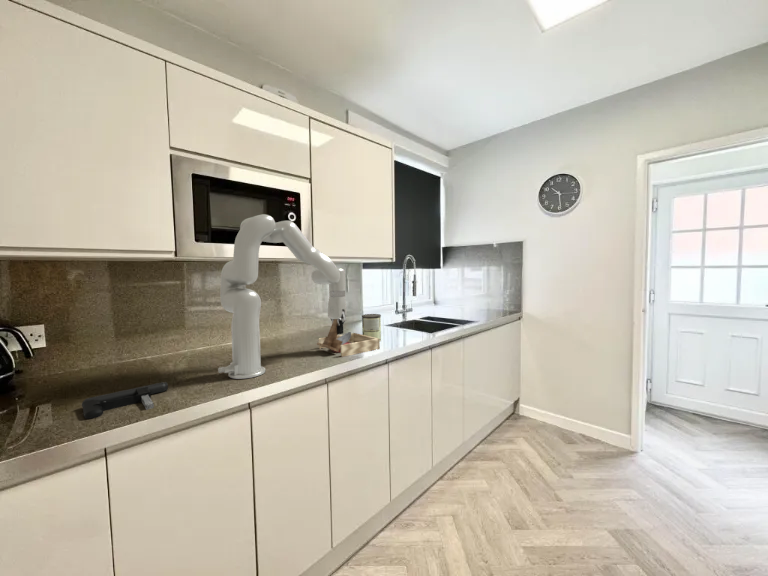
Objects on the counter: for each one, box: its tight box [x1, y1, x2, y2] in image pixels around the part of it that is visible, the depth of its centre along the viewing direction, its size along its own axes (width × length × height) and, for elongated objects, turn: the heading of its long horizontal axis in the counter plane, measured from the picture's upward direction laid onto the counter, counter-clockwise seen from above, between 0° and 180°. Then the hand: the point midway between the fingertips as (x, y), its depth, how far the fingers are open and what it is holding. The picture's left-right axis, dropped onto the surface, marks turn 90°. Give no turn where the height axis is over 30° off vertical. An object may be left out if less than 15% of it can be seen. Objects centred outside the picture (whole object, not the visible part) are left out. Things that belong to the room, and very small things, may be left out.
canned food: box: [331, 331, 352, 354], centre depth 153 cm, size 11×10×10 cm
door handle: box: [81, 381, 169, 420], centre depth 92 cm, size 3×20×16 cm
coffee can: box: [361, 313, 382, 342], centre depth 173 cm, size 10×10×14 cm
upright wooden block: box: [316, 319, 342, 353], centre depth 150 cm, size 5×12×14 cm, turn 39°
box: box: [318, 332, 381, 357], centre depth 156 cm, size 21×21×5 cm
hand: (338, 332), depth 151 cm, fingers closed on upright wooden block, 3 cm apart
